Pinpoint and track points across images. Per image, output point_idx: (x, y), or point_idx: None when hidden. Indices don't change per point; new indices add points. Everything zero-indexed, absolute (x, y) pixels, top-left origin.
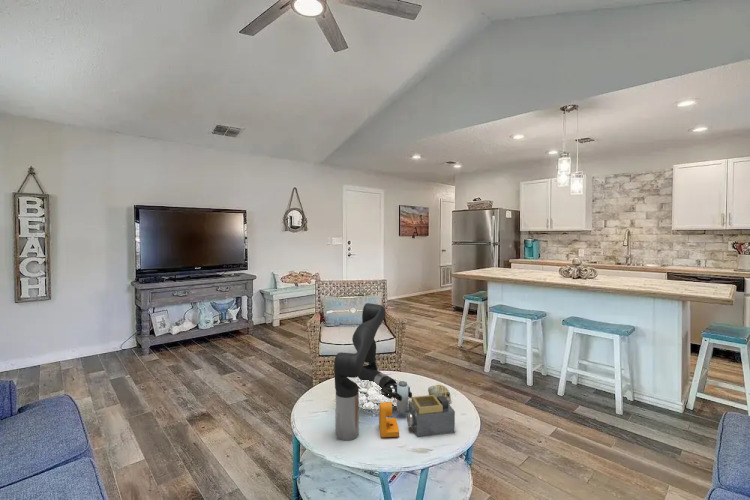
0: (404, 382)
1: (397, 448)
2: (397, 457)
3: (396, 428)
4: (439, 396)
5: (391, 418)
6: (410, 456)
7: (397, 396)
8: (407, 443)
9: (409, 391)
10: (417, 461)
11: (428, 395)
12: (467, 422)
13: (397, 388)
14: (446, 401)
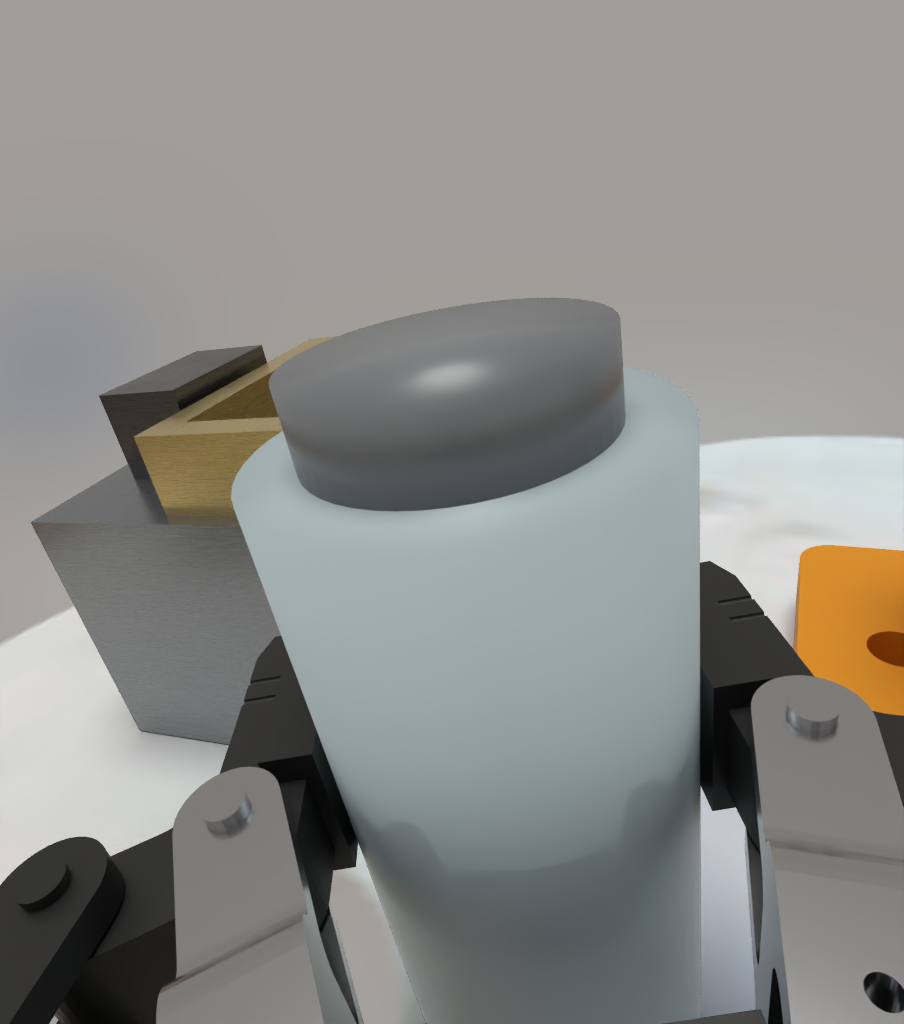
0: (361, 355)
1: (839, 520)
2: (853, 469)
3: (828, 584)
4: (159, 387)
5: None
6: (748, 467)
7: (741, 583)
8: (729, 545)
9: (239, 730)
10: (714, 444)
11: (211, 431)
12: (67, 636)
13: (698, 518)
14: (216, 351)
